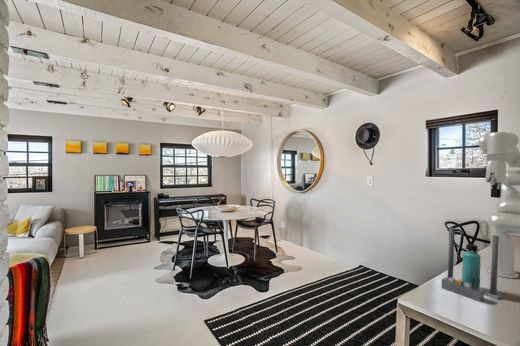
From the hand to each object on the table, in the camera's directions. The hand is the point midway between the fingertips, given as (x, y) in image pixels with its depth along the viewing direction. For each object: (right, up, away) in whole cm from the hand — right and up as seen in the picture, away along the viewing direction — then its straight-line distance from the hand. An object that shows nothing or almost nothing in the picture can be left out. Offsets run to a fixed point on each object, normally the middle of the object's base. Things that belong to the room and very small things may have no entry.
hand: (495, 197), depth 123 cm
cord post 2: (-12, -41, -12) cm, 44 cm away
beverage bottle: (-16, -41, -5) cm, 44 cm away
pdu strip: (-24, -41, -10) cm, 48 cm away
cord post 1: (-20, -41, +2) cm, 45 cm away
